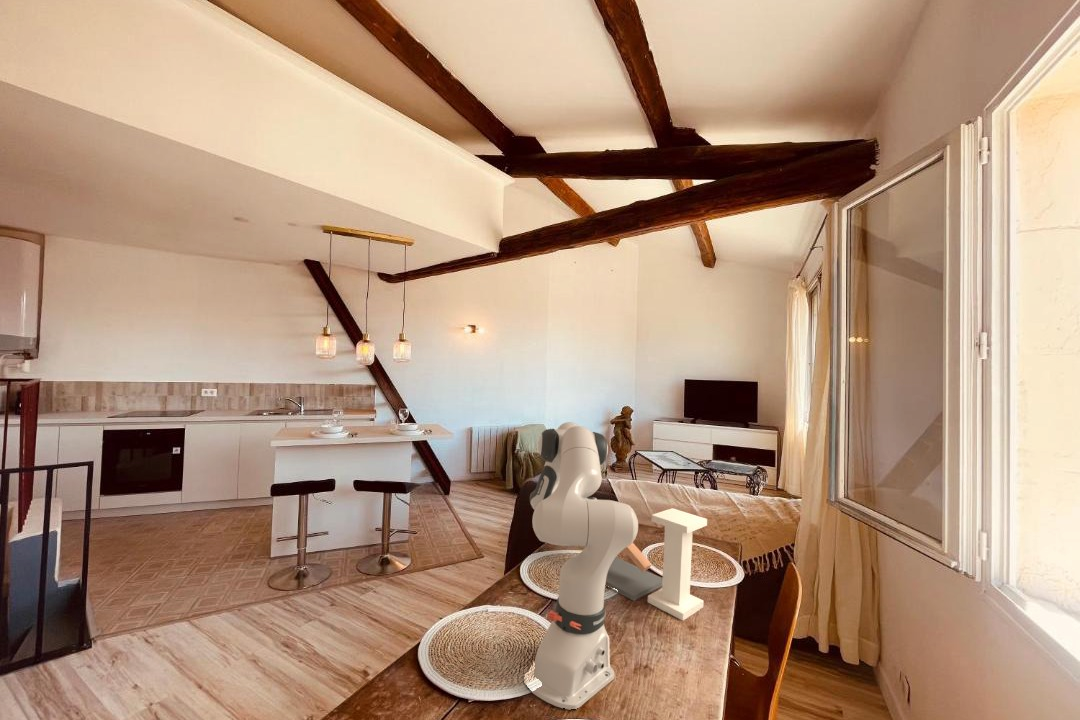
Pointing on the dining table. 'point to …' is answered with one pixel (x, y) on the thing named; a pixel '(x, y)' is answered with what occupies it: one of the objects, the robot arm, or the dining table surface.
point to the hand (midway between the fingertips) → (607, 520)
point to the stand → (677, 563)
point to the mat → (631, 579)
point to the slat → (637, 557)
